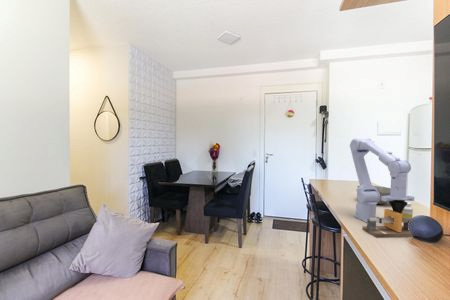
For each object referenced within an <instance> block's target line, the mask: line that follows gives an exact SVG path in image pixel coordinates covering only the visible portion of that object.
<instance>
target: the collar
mask: <svg viewBox="0 0 450 300" xmlns="http://www.w3.org/2000/svg"><path fill="white" fill-rule="evenodd" d="M383 213H384V215H383V218H386V217H393V218H394V223H383V226H386V227H388V228H390V229H393V230H395V231H397V232H401V229H402V226H403V222H402V214H400V213H397V212H395V211H393V209H390V208H384V211H383Z"/></svg>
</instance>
